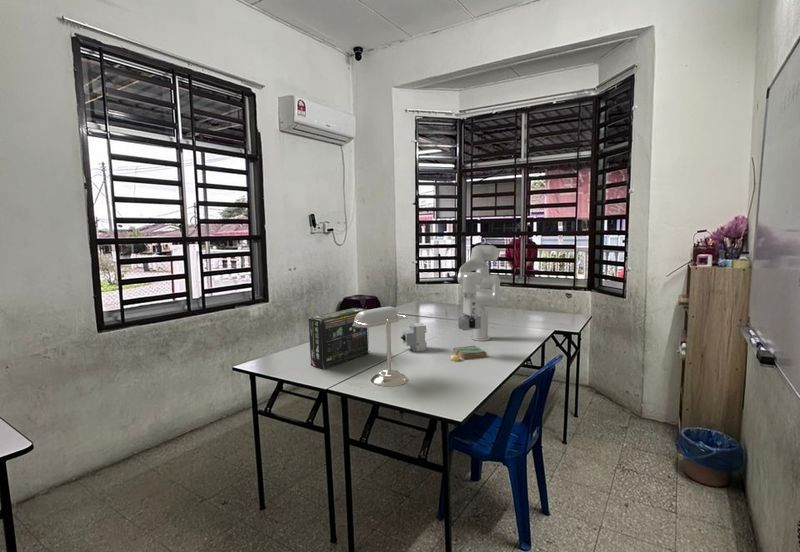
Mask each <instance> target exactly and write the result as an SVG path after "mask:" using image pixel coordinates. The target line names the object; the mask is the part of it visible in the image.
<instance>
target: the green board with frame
mask: <svg viewBox="0 0 800 552" xmlns="http://www.w3.org/2000/svg"><path fill="white" fill-rule="evenodd" d="M452 349H453V350H452V351H453V352H452V353H454V355H459V358H461V359H463V360H471V359H473V360H474V359H480V358H487V352H486V351H485V350H483V349H481V348H480V347H477V346H476V345H468V346H458V347H453V348H452Z"/></svg>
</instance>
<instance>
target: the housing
mask: <svg viewBox="0 0 800 552" xmlns="http://www.w3.org/2000/svg"><path fill="white" fill-rule="evenodd" d="M472 318H473V317H472ZM470 321H471V320H470V316H468V315H466V316H464V315H458V329H460V330H461V331H473V329H480V328H481V316H478V315H477V317H476V321H475V328H470Z"/></svg>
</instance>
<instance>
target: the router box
mask: <svg viewBox="0 0 800 552" xmlns="http://www.w3.org/2000/svg"><path fill="white" fill-rule="evenodd" d="M365 310H368V309H367V308H361V307H352V308H347V309H343V310H341V309H340V310H338V311H333V312H328V313H324V314H318V315H314V316H310V317H308V318H307V319H308V333H309V334H308V335H309V336H308V337H309V338H308V339H309V353H310V366H312V367H315V368H317V369H321V370H322V369H323V370H325V369H328V368H330V367H334V366H337V365H340V364H342V363H345V362H348V361H351V360H354V359H357V358H360V357H362V356H365V355H368V354H369V353H370V352H368V349H369V348H368V332H369V331H368V328H363V327H357V326H353V324H354V320H355V317H356V315H357V314H358V313H359V312H361V311H365Z"/></svg>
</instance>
